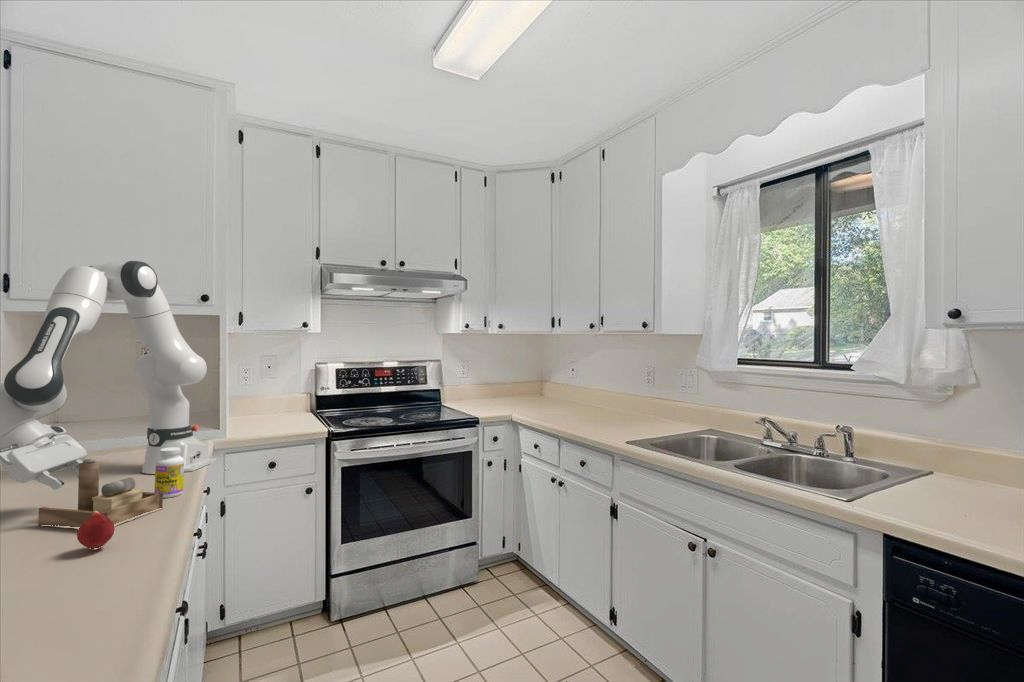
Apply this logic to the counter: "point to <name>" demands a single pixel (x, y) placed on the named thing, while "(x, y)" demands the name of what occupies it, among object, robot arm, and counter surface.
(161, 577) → the counter surface
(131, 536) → the counter surface
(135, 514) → the bay
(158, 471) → the supplement bottle
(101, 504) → the block with grey roller
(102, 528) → the onion
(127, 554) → the counter surface
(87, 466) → the brown wooden pepper mill
